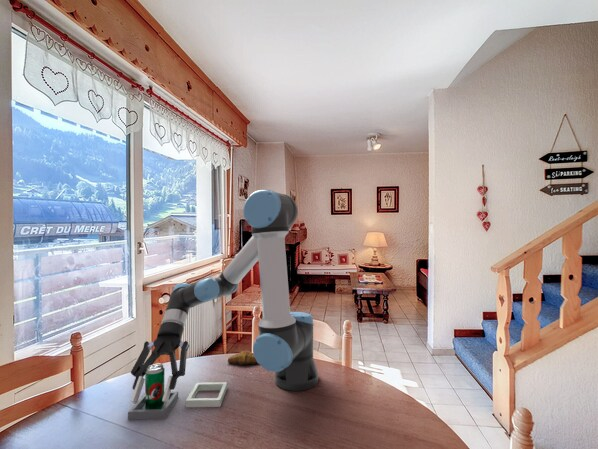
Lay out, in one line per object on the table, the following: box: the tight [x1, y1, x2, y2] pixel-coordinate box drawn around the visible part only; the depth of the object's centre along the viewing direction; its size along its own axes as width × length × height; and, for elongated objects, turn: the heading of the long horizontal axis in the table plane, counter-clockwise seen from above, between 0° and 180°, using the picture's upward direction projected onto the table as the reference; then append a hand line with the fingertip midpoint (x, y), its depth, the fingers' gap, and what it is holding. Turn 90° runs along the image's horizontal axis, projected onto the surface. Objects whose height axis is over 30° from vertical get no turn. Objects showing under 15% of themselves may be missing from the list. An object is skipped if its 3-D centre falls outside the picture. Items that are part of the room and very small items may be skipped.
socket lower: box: [185, 381, 228, 408], centre depth 91 cm, size 10×10×2 cm
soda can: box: [144, 363, 166, 410], centre depth 85 cm, size 5×5×12 cm
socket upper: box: [127, 391, 179, 420], centre depth 85 cm, size 10×10×2 cm
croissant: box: [227, 350, 258, 366], centre depth 115 cm, size 14×7×5 cm, turn 92°
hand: (149, 402), depth 82 cm, fingers open, 8 cm apart
